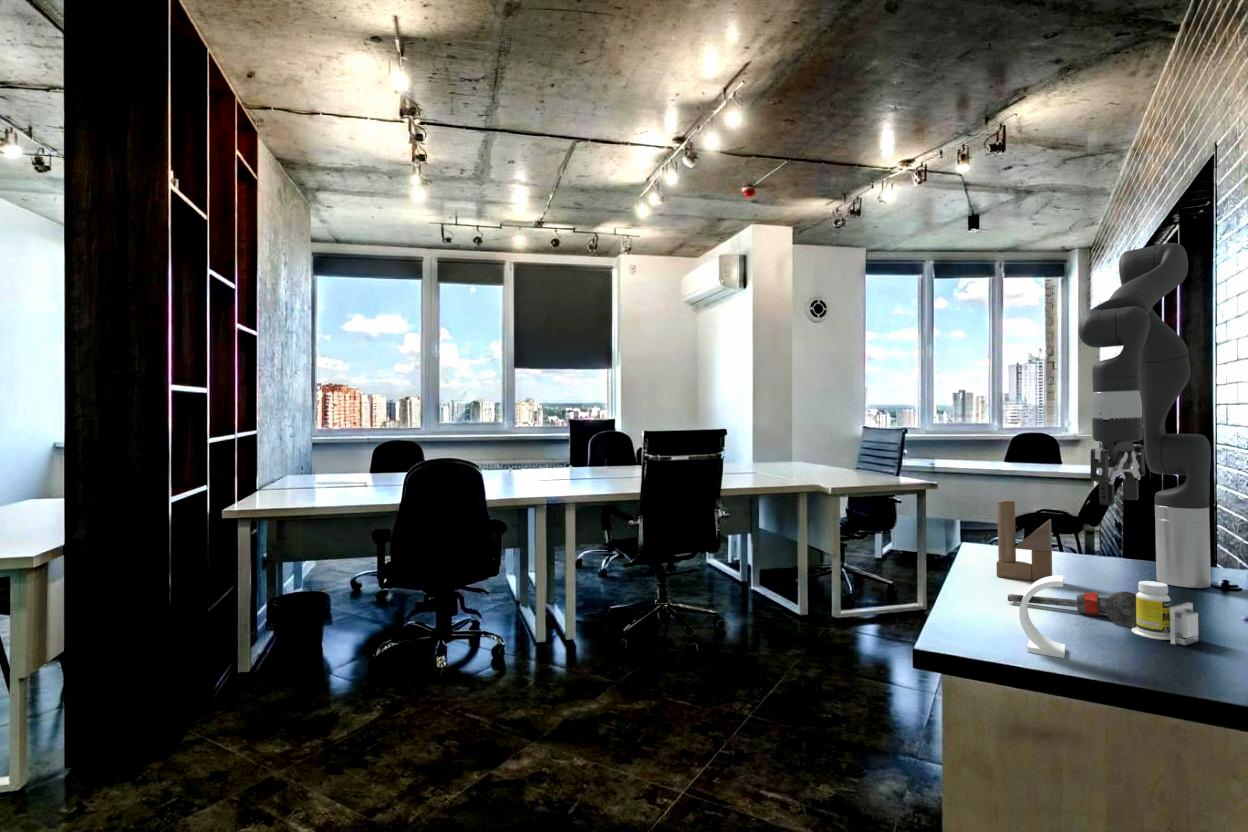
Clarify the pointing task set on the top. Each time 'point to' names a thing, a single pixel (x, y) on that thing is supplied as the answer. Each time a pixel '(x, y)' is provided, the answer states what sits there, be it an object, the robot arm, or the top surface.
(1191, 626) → the flange stub
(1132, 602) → the valve
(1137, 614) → the supplement bottle
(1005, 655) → the top surface
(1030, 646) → the headphone stand
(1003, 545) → the wooden block
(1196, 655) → the top surface
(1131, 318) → the robot arm
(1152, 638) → the pad
